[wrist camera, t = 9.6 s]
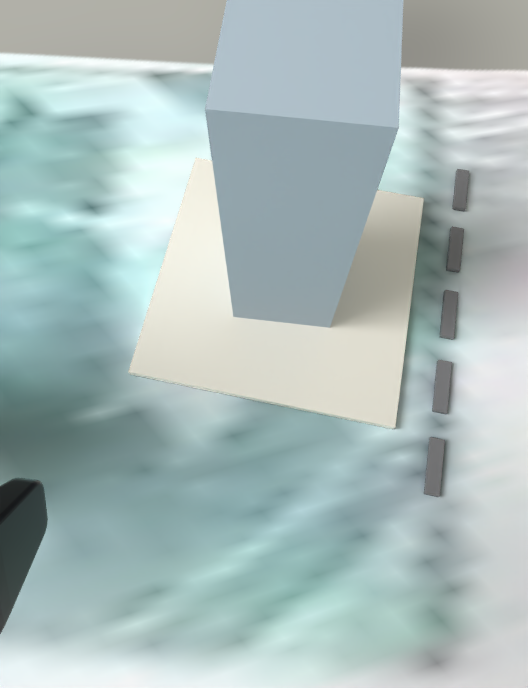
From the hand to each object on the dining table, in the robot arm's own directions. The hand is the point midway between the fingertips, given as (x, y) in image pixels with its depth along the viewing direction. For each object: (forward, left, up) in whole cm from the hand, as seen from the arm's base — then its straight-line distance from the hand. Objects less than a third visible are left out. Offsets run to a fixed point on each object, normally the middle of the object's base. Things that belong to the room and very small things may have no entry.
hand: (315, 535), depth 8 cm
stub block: (+8, -8, -13) cm, 17 cm away
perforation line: (+1, -12, -13) cm, 18 cm away
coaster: (+8, -8, -13) cm, 18 cm away
